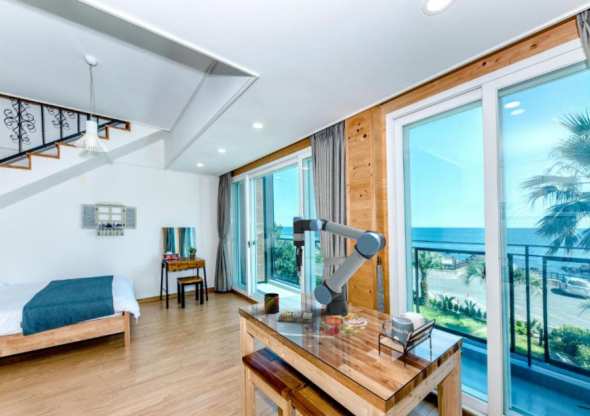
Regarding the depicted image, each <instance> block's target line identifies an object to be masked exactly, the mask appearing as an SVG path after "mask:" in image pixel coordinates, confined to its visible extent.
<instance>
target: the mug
mask: <svg viewBox="0 0 590 416" xmlns="http://www.w3.org/2000/svg"><path fill="white" fill-rule="evenodd" d="M263 298H264V299H263V300H264V301H263V303H264V306H263V307H264V308H263V309H264V314H266V315H275V314H278V313H280V295H279V293H276V292H268V293H265V294H264V295H263Z"/></svg>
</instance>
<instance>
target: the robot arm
mask: <svg viewBox="0 0 590 416" xmlns="http://www.w3.org/2000/svg"><path fill="white" fill-rule="evenodd" d="M292 231H293V233H292V238H293V241H292V243H293V244H292V245H293V247H296V249H295V261H296V265H295V267H297V268H296V271H297V277H302V276H303V270H302V269H303V266H304V264H303V251H304V250H303V247H304V246H306V245H305V243H306V242H305V241H306V240H305V239H306V236H305V235H306V234H305V232H321V231H323V232H326V233H330V234H333V235H336V236H339V237H341V238H345V239H349V240H353V241H355V242H356V243H355V244H354V246H353V251H352V252H351V253H350V254H349V256H347V257H346V259H345V260H344V261H343V262H342V263H341V265H340V266H339V267H338V268H337V269H336V270H335V271H334V272H333V274H332V275H331V276H326V278H324V280H323V281H322V282H321V283H320V284H318V285H317V286H316V287H315V288H314V290H313V293H314V294H313V295H314V298H315V300H316V302H317V303H319V304H321V305H325V307H324V313H326V314H327V315H329V316H341V317H342V318H343V316H344V317H346V316H348V315H349V309H348V305H347V303H346V283H347V282H348V281H349V279H350V278H352V276H353V275H354V274H355V273H356V272H357V271H358V270H359V269H360V268H361V267H362V265H363V264H364V263H365V262H366V261H371V259H373V258H374V256H375V255H376V254H378V253H379V252H381V251H382V250H384V249H385V248H386V245H387V238H386V237H385V235H384V234H383V233H381V232H379V231H375V230H370V229H366V230H364V229H359V228H356V227H352V226H349V225H345V224H342V223H337V222H334V221H330V220H328V219H326V218H317V219H316V218H313V219H312V218H311V219H305V217H304V216H294V217H292Z"/></svg>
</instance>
